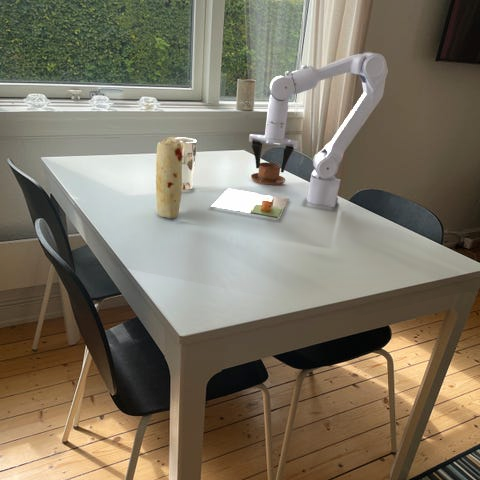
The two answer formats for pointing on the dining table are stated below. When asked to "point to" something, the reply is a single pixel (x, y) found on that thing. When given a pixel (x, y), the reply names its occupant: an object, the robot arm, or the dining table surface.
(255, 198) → the board
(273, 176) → the cup and saucer
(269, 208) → the goldfish
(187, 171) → the beer glass
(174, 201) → the food model
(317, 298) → the dining table surface
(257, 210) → the corner pad
